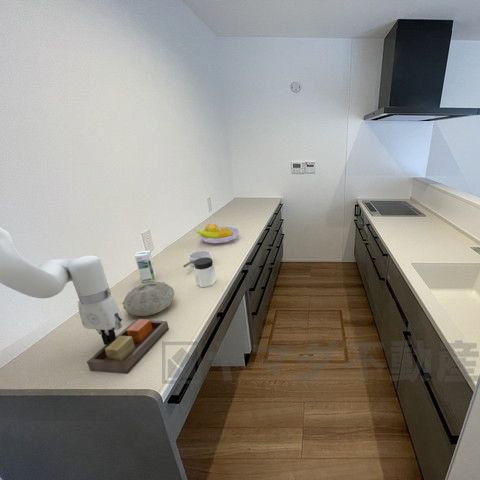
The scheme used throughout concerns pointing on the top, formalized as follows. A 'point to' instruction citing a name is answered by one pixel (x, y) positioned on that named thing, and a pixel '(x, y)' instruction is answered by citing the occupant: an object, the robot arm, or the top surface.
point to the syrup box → (145, 266)
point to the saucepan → (197, 256)
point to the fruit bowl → (217, 234)
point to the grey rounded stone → (148, 298)
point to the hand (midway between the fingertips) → (110, 341)
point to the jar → (204, 272)
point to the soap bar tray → (128, 346)
